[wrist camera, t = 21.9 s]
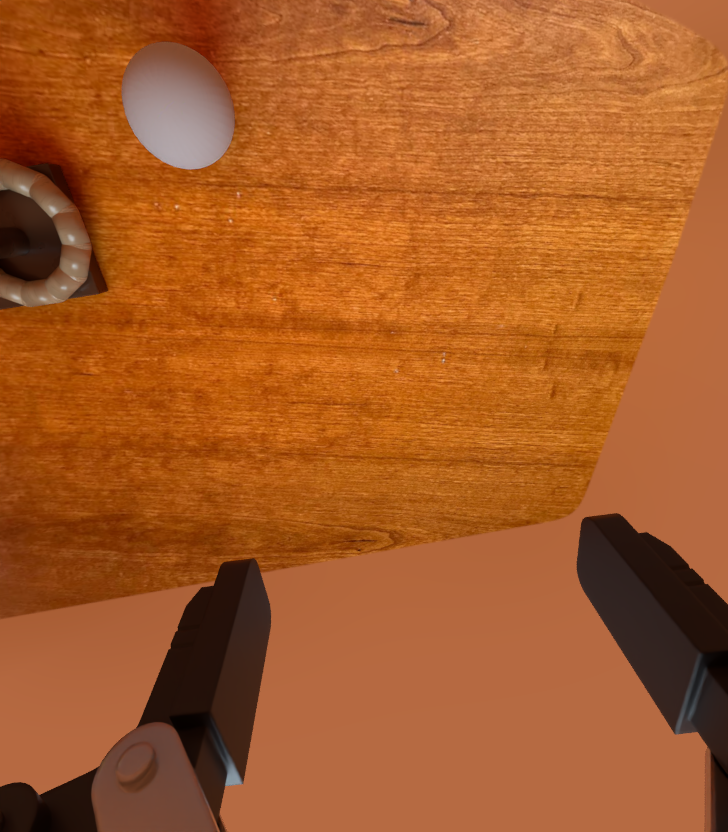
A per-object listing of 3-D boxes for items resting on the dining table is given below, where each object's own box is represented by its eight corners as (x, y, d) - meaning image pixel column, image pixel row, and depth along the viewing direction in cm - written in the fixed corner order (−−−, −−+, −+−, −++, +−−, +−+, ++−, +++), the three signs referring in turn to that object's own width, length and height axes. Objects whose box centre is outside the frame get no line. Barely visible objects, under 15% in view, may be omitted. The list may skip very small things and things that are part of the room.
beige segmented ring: (-74, 172, 30) (-98, 170, 28) (62, 152, 30) (46, 148, 28) (-6, 311, 34) (-23, 315, 32) (114, 293, 34) (103, 297, 32)
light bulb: (270, 122, 31) (241, 82, 22) (229, 196, 33) (187, 188, 24) (195, 59, 29) (130, -11, 20) (156, 141, 31) (81, 110, 22)
